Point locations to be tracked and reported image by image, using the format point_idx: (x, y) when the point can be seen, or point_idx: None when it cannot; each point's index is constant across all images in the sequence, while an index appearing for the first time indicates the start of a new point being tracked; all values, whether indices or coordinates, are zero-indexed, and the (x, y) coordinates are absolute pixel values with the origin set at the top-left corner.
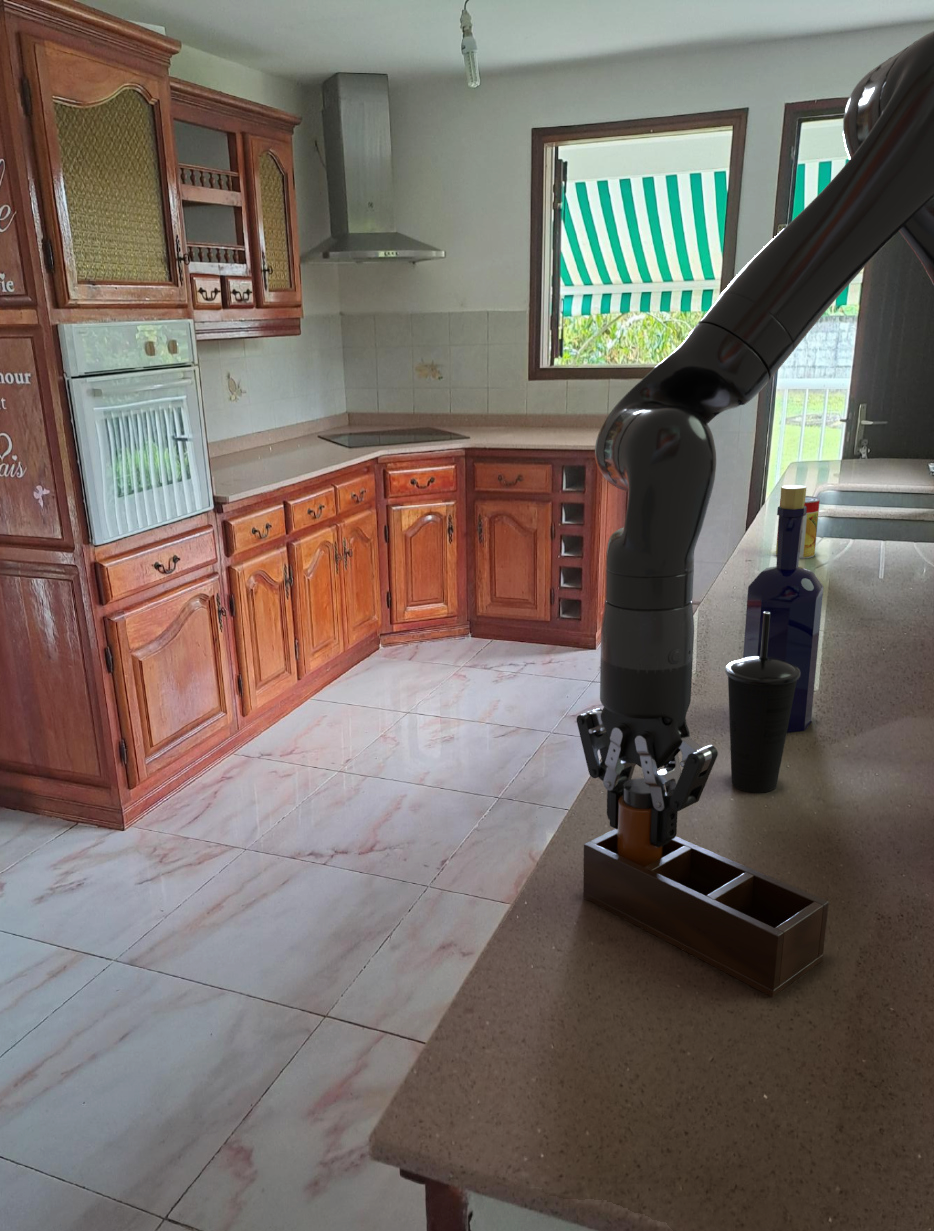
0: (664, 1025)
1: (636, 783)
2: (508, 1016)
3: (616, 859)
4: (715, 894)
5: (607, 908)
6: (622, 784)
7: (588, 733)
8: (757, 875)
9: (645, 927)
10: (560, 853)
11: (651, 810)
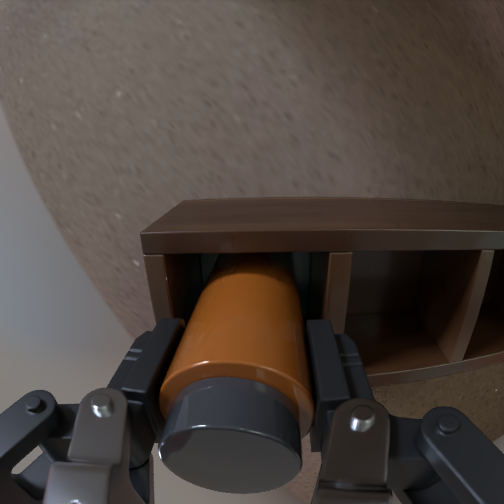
0: (420, 404)
1: (200, 464)
2: (306, 466)
3: None
4: (461, 351)
5: None
6: (145, 438)
7: None
8: (499, 246)
9: None
10: (78, 250)
11: (311, 446)
